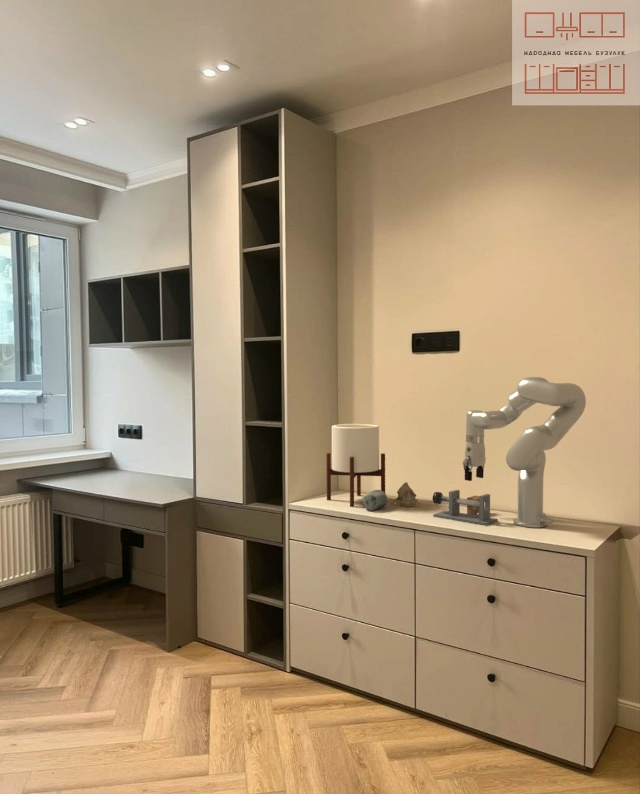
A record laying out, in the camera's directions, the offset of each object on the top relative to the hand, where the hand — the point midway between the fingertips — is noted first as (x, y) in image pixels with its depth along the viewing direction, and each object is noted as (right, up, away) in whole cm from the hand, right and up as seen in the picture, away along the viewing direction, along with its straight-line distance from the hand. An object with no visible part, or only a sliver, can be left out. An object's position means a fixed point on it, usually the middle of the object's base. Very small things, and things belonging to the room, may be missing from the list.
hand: (474, 479), depth 266 cm
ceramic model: (-26, -15, +21) cm, 37 cm away
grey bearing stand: (-6, -15, -10) cm, 19 cm away
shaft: (-9, -11, -7) cm, 16 cm away
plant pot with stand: (-49, -14, +29) cm, 59 cm away
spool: (-42, -15, +11) cm, 45 cm away
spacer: (+1, -15, 0) cm, 15 cm away
